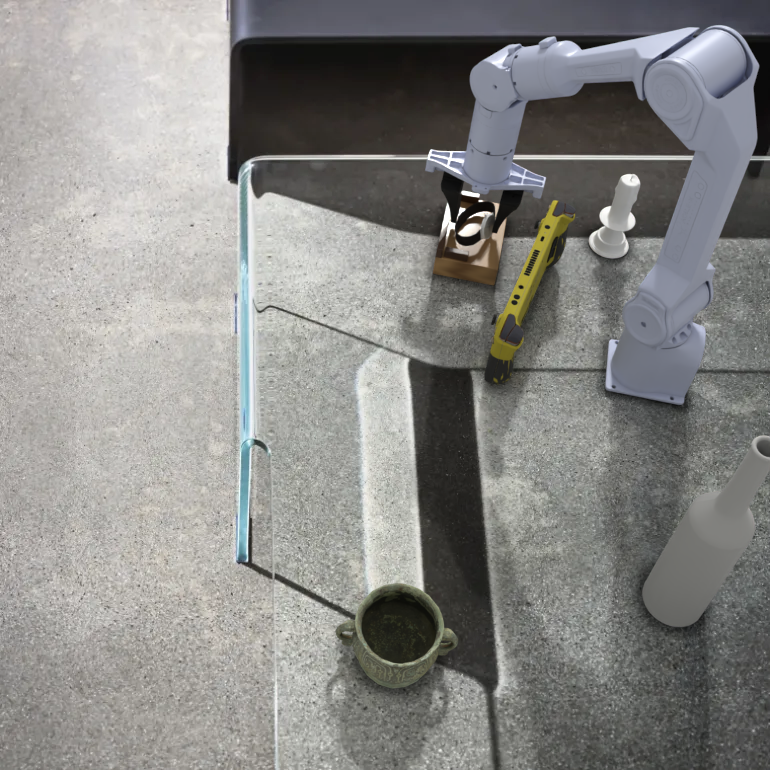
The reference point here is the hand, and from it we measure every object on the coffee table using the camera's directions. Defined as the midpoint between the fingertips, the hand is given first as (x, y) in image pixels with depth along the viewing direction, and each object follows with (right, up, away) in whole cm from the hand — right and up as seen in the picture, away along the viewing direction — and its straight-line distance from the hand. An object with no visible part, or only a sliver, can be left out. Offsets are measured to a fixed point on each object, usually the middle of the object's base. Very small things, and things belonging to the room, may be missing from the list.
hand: (474, 222), depth 147 cm
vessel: (-11, -47, -32) cm, 58 cm away
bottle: (+19, -43, -25) cm, 54 cm away
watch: (0, -1, +1) cm, 2 cm away
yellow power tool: (+5, -13, -3) cm, 14 cm away
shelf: (0, -3, +3) cm, 4 cm away
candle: (+18, -2, +6) cm, 19 cm away
